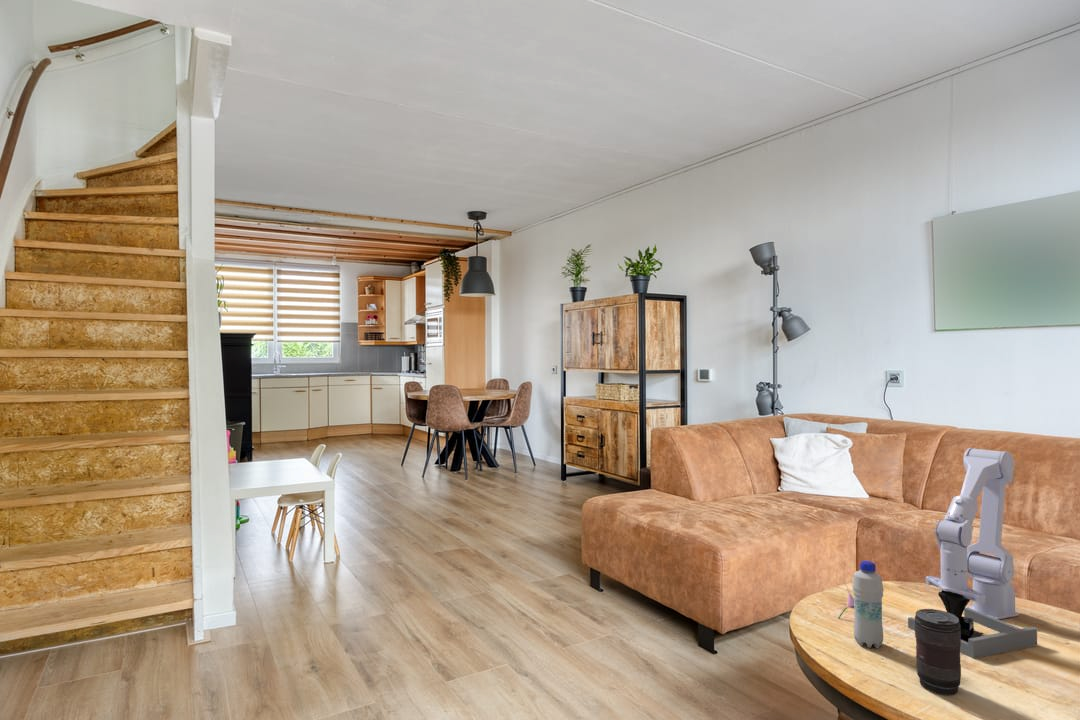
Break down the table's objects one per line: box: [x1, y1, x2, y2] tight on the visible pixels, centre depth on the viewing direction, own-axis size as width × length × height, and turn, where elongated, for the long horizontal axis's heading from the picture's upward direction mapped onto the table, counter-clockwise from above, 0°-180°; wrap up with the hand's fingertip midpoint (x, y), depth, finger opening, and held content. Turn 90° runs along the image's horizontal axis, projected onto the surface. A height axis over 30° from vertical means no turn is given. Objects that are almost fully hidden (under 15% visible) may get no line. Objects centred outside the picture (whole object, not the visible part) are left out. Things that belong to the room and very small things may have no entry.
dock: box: [907, 608, 1038, 659], centre depth 150 cm, size 20×17×4 cm
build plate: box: [958, 616, 983, 642], centre depth 151 cm, size 12×7×5 cm, turn 133°
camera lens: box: [914, 608, 962, 696], centre depth 127 cm, size 8×8×15 cm
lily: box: [838, 579, 854, 620], centre depth 161 cm, size 12×12×10 cm
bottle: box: [851, 560, 884, 649], centre depth 147 cm, size 7×7×20 cm
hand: (954, 621), depth 154 cm, fingers closed
